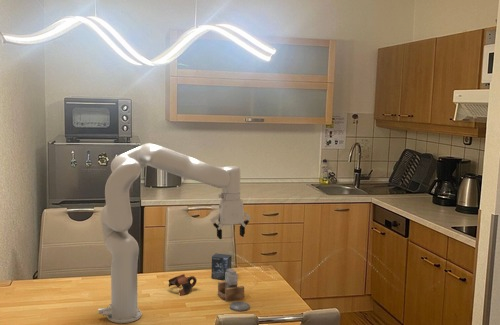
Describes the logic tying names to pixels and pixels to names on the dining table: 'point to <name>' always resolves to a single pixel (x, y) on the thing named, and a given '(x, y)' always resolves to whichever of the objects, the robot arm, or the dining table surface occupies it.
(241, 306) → the disc
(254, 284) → the dining table surface
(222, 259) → the box
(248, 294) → the dining table surface
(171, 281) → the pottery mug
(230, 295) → the cradle
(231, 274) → the pin
